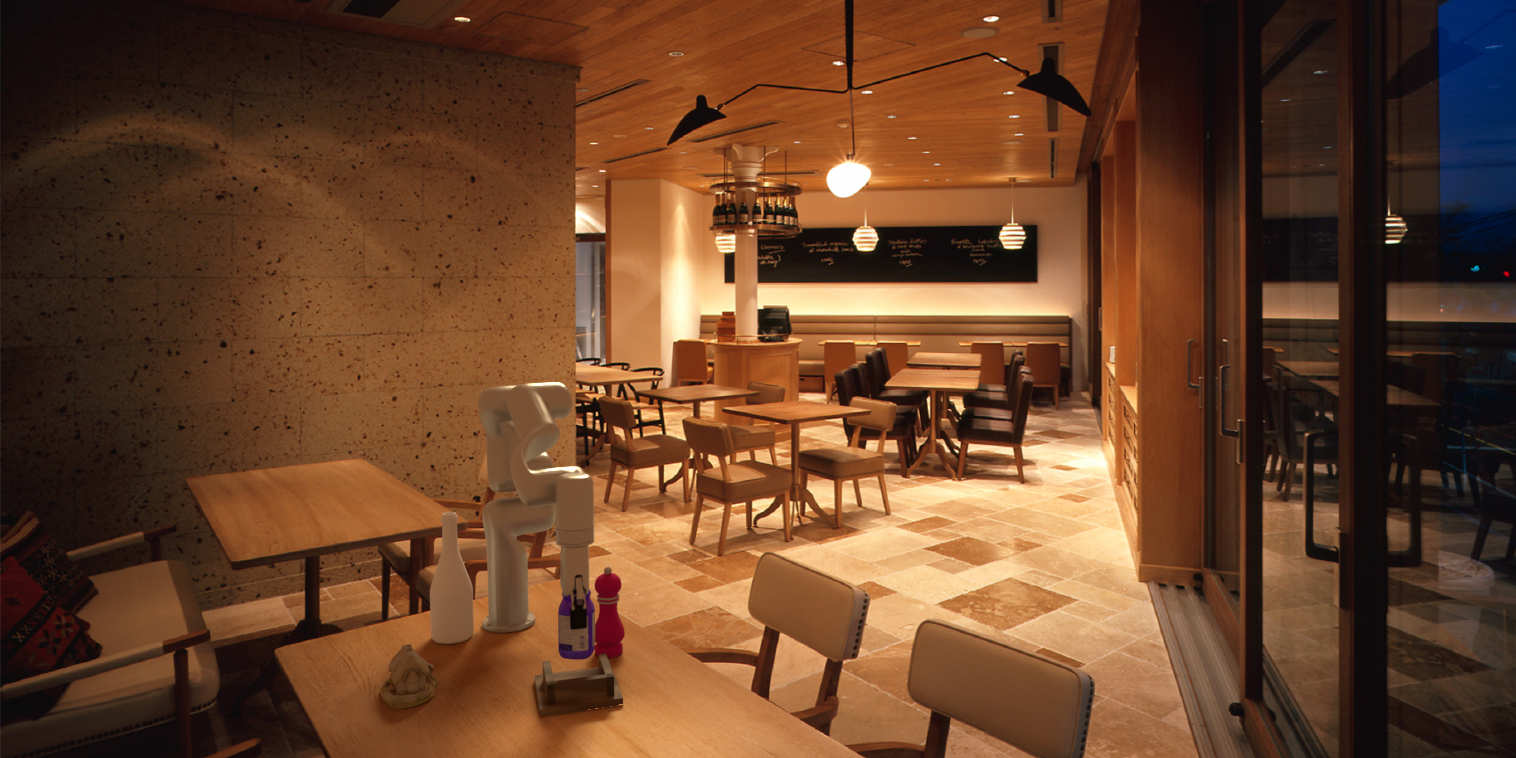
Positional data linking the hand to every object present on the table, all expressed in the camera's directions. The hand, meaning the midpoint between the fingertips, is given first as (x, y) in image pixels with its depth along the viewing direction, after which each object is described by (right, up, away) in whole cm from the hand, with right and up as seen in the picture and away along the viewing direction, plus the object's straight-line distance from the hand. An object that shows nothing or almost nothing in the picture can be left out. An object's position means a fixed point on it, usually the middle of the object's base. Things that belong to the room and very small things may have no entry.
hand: (576, 621), depth 173 cm
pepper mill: (+3, -13, +22) cm, 26 cm away
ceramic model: (-34, -15, +2) cm, 38 cm away
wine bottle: (-36, -13, +30) cm, 48 cm away
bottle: (0, -7, +1) cm, 7 cm away
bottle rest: (0, -15, +1) cm, 15 cm away
